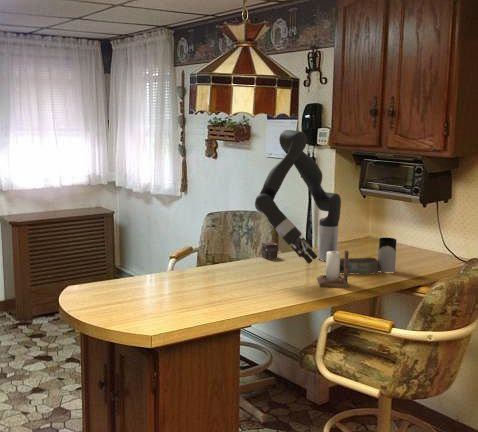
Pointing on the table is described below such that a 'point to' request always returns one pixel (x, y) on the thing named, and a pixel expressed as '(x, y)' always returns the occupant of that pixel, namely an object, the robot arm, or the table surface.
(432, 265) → the table surface
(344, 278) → the walnut holder
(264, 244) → the box
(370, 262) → the beverage carton
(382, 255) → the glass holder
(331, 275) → the paper roll
